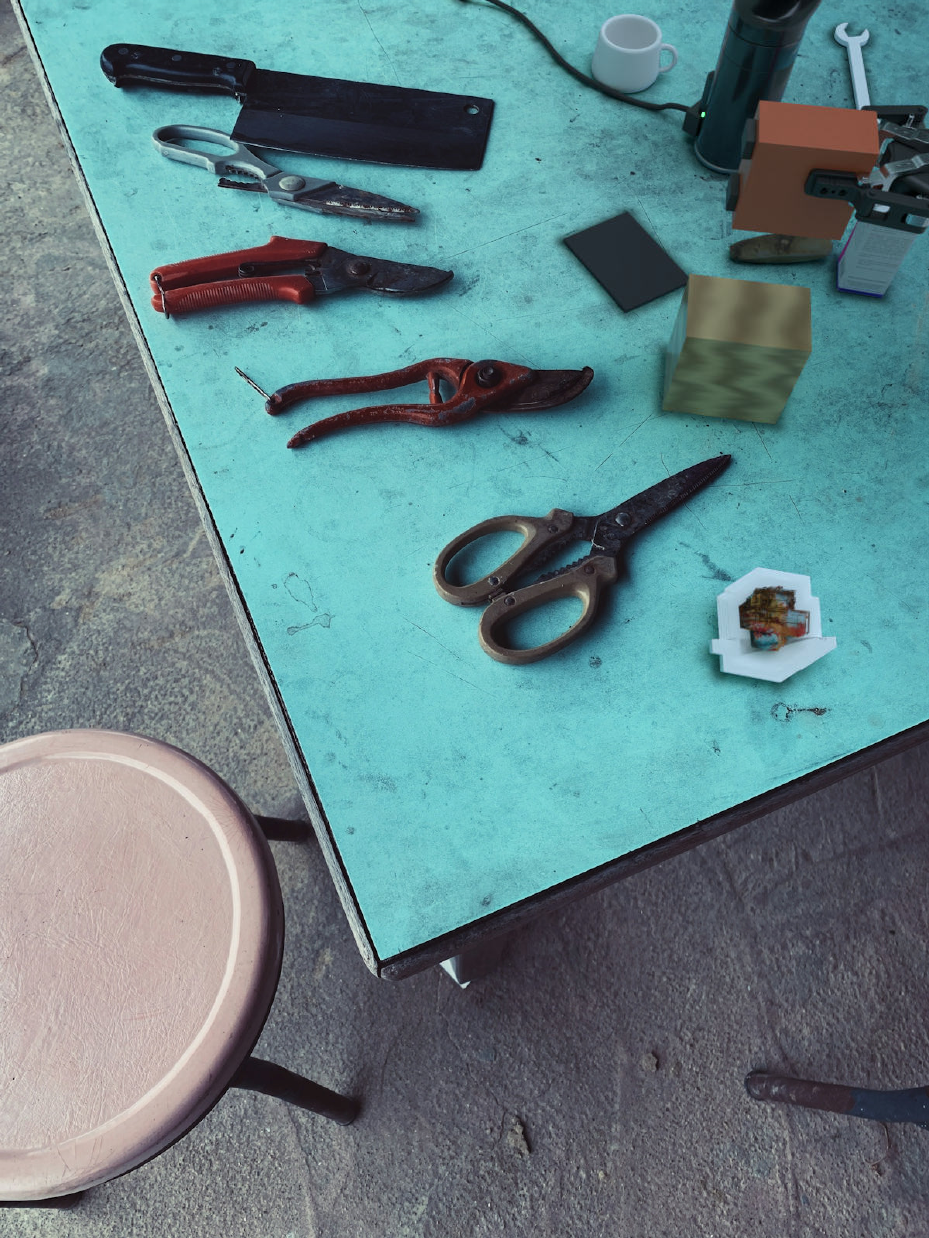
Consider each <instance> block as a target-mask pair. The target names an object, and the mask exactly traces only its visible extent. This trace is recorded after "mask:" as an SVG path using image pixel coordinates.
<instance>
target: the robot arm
mask: <svg viewBox="0 0 929 1238" xmlns="http://www.w3.org/2000/svg"><path fill="white" fill-rule="evenodd" d="M458 1H459V2H466V0H458ZM485 1H486V2H488V3H491V4H492V5H495V6H497V7H499V8H501V9H503V10H504V11H506V12H508V13H510V14H512V15H513V16H515V17H516V18H518V19H519V20H520V21H522V22H523V23H524V25H526V27H527V28H528V29H530V31H531V32H532V33H533V34H534V35H535V36H536V37H537V38H538V39H539V40H540V41H541V42H542V43H543V45H544V46H545V47H546V48H547V50H548V51H549V53H550V54H551V55H552V56H553V58H554V59H555V61H557V63H558V64H559V65H560V66H562V67H563V68H564V69H565V70H567V72H569V73H571V75H573V76H574V77H576V78H577V79H579V80H580V81H581V82H584V83H585V84H586V85H589V86H591V87H593V88H595V89H597V90H599V91H600V92H603V93H605V94H607V95H610V96H611V97H613V98H616V99H618V100H621V101H623V102H624V103H628V104H630V105H632V106H635V107H639V108H642V109H646V110H651V111H664V110H675V111H680V112H683V113H685V114H684V119H683V124H682V126H681V131H683V132H684V133H686V134H688V135H690V136H691V138H690V141H691V142H693V144H694V146H693V151H694V155H695V156H696V158H697V160H698V161H699V162H700V163H701V164H702V165H703V166H705V167H706V168H708V169H709V170H712V171H714V172H716V173H721V174H724V175H731V173H738V170H739V167H740V163H741V160H742V159H741V149H742V134H743V131H744V128H745V124H746V121H747V119H754V117H755V114H756V111H757V107H758V104H759V101H760V100H762V101H773V102H783V98H784V95H785V92H786V88H787V86H788V84H789V81H790V78H791V74H792V73H793V72H792V71H793V68H794V66H795V63H796V60H797V58H798V54H799V51H800V48H801V45H802V43H803V39H804V36H805V34H806V33H805V32H806V30H807V27H808V26H809V22H810V20H811V19H812V17H813V16H814V15H815V13H816V12H817V11H818V9H819V7H820V6H821V4H822V2H823V0H732V4H731V6H730V11H729V14H728V19H727V22H726V26H725V30H724V33H723V38H722V42H721V45H720V49H719V53H718V56H717V62H716V64H715V68H714V70H711V71H709V72H708V74H707V75H706V79H705V84H704V87H703V91H702V95H701V98H700V99H699V100H697V102H695V103H694V104H693V105H692V106H688V105H685V104H682V103H677V102H665V103H662V104H659V103H652V102H647V101H643V100H640V99H637V98H634V97H631V96H629V95H626V94H625V93H620V92H617V91H615V90H613V89H611V88H609V87H607V86H604V85H602V84H600V83H598V81H597V80H594V79H592V78H591V77H589V76H587V75H586V74H583V73H582V72H581V71H580V70H578V69H576V68H575V67H574V66H573V65H571V64H570V63H569V62H567V61H566V60H565V59H564V58H563V57H562V56H561V55H560V54H559V53H558V51H557V49H556V48H555V47H554V46H553V44H552V43H551V42H550V41H549V39H548V38H547V37H546V35H545V34H543V33H542V32H541V30H540V29H539V28H538V27H537V26H536V25H535V24H534V23H533V22H532V21H531V20H530V19H529V18H528V17H527V16H526V15H525V14H523V13H522V11H521V12H520V11H519V10H518V9H516V8H515V7H513V6H511V5H509V4H507V3H505V2H503V1H501V0H485ZM861 110H866V111H876V112H877V119H879V120H880V121H881V122H880V123H879V124H878V139H879V153H880V154H879V156H878V159H877V161H876V163H875V165H874V167H875V168H878V169H876V170H872V172H866V173H861V174H859V175H858V176H857V178H856V177H855V172H850V171H840V170H830V169H820V168H814V169H812V170H811V171H810V172H809V174H808V177H807V179H806V182H805V185H804V193H805V194H806V195H811V196H814V197H817V198H826V199H828V198H829V199H836V200H845V201H847V203H848V205H850V206H852V207H854V208H855V211H856V212H855V213H854V219H855V220H856V221H860V222H864V223H869V224H873V225H878V226H882V227H887V228H892V229H896V230H901V231H906V232H910V233H915V234H918V235H922V234H925V232H926V230H927V229H928V227H929V128H927V126H926V123H925V118H926V116H927V114H928V112H929V109H928V107H927V106H925V105H923V104H882V105H880V104H878V105H877V104H876V105H875V104H873V105H872V104H870V105H866V106H863V107H862V108H861ZM887 139H891V141H890V142H888V143H887V146H886V147H885V149H884V151H883V148H884V145H885V142H886V141H887ZM874 206H875V207H879V206H888V207H890V208H889V210H888V211H887V212H880V211H876V210H873V209H874Z"/></svg>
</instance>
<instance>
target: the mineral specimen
mask: <svg viewBox="0 0 929 1238" xmlns="http://www.w3.org/2000/svg"><path fill="white" fill-rule="evenodd" d="M811 584H812V583H811V576H810V575H805V574H799V573H793V572H789V571H788V572H787V571H784V570H783V571H782V570H777V569H772V568H771V569H770V568H766V567H760V566H757V567H755V568H753V569H752V570H750V571H749V572H748V573H746V574H744V575H743V576H741V577H740V578H738V579H737V580H735V581H734V582H732V583H731V584H728V586H726V587H724V588H723V592H721V593H719V594H718V595H717V596H716V605H717V606H716V607H717V608H716V609H717V626H718V638H711V639H708V646H709V647H708V648H709V654H712V655H717V656H719V670H720V673H725V674H729V675H730V674H732V675H736V676H741V677H746V678H751V679H757V680H763V681H767V682H772V683H782V682H784V681H785V680H786V679H788V678H789V677H791V676H794V674H796V673H797V672H798V671H802V670H804V669H806V668H807V667H808V666H810V665H811V664H814V663H815V662H817V660H820V659H821V658H823V657H824V656H825V655H827V654H828V653H830V652H831V651H833V650H835V649H836V648H837V647H838V644H837V636H834V635H833V636H823V631H822V618H821V616H822V615H821V603H820V597H819V596H814V595H812V585H811Z"/></svg>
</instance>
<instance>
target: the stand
mask: <svg viewBox="0 0 929 1238" xmlns="http://www.w3.org/2000/svg"><path fill="white" fill-rule="evenodd" d="M811 291H812V289H811V287H806V286H798V285H789V284H780V283H773V282H772V283H771V282H764V281H755V280H747V279H738V278H729V277H720V276H713V275H712V276H711V275H704V274H695V273H689V274H688V280H687V284H686V285H685V286H684V290H683V294H682V297H681V301H680V304H679V308H678V311H677V313H676V317H675V321H674V324H673V328H672V330H671V335H670V337H669V340H668V344H667V348H666V352H665V365H664V366H665V367H664V381H663V394H662V395H663V398H662V409H661V411H667V412H674V413H682V414H690V415H698V416H706V417H713V418H722V419H728V420H729V419H731V420H738V421H746V422H754V423H761V424H768V425H770V424H771V425H776V424H777V422H778V420H779V419H780V416H781V415H782V413H783V410H784V408H785V406H786V404H787V402H788V400H789V398H790V397H791V395H792V392H793V391H794V388H795V387H796V385H797V382H798V381H799V378H800V376H801V374H802V372H803V370H804V369H805V366H806V365H807V363H808V360H809V359H810V356H811V355H812V353H813V337H812V336H813V332H812V294H811V293H812V292H811Z"/></svg>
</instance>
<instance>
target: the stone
mask: <svg viewBox="0 0 929 1238" xmlns="http://www.w3.org/2000/svg"><path fill="white" fill-rule="evenodd" d="M833 247H834V243H833V241H832V240H830V239H820V238H811V237H802V236H792V235H783V234H773V233H765V234H761V235H756V236H754V237H749V238H745V239H742V240H739V241H737V242H734V243H732V244H730V245H729V247H728V248H729V254H730V256H731V258H732V259H733V260H736V261H739V262H745V263H746V262H747V263H764V264H765V263H771V264H772V263H779V264H780V263H783V264H784V263H798V262H799V263H800V262H807V261H813V260H819V259H823V258H825V257H828V256H830V255H831V254H832V252H833Z"/></svg>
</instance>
